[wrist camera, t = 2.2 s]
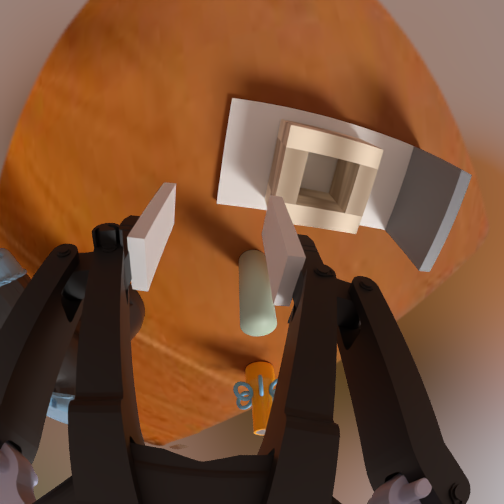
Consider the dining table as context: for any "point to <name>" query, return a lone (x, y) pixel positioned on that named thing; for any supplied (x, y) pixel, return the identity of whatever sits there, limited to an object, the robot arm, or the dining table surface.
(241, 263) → the dowel
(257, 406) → the orange ringed tube
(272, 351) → the dining table surface
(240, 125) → the backstop
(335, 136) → the block
